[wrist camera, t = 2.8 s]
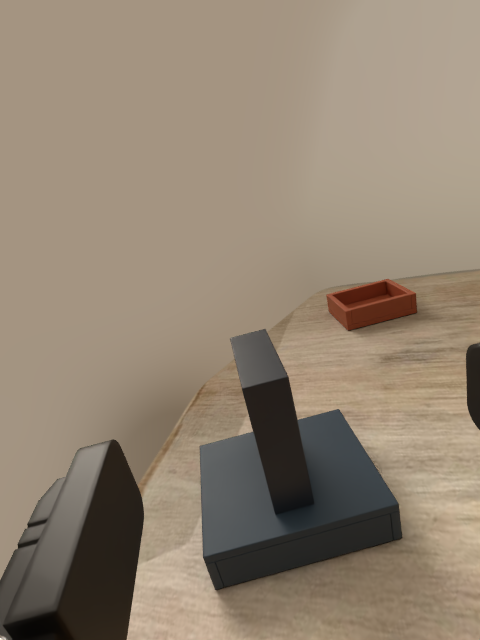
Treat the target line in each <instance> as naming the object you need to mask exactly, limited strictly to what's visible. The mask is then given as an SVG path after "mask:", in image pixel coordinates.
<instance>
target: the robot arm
mask: <svg viewBox="0 0 480 640" xmlns="http://www.w3.org/2000/svg"><path fill="white" fill-rule="evenodd" d="M466 372H467V406H468V410H469V413H470V416H471V418H472V420H473V422H474V423H475V425H476V426H477V427H478V429H479V430H480V343H477V344H473V345H471V346H469V348H468V350H467V353H466ZM143 522H144V509H143V502H142V497H141V494H140V491H139V488H138V486H137V484H136V482H135V479H134V477H133V475H132V472H131V470H130V468H129V465H128V463H127V460H126V458H125V456H124V453H123V451H122V449H121V447H120V445H119V443H118V442H117V441H116V440H110V441H106V442H102V443H99V444H95V445H91V446H87V447H84V448H80V449H79V450H78V451H77V452H76V454H75V456H74V459H73V461H72V463H71V466H70V468H69V471H68V473H67V475H66V477H63V478H60V479H57V480H56V481H55V483H54V484H53V485H52V486H51V487H50V488H49V489H48V491H47V492H46V493H45V494H44V495H43V496H42V497H41V499H40V500H39V501H38V503H37V505H36V507H35V509H34V511H33V513H32V516H31V518H30V520H29V522H28V524H27V525H28V528H27V529H25V530H24V532H23V534H22V536H21V538H20V540H19V543H18V549H16V550H15V551H14V553H13V555H12V557H11V559H10V561H9V563H8V565H7V567H6V570H5V572H4V574H3V576H2V578H1V580H0V640H127V633H128V626H129V619H130V612H131V605H132V599H133V592H134V585H135V578H136V571H137V564H138V557H139V550H140V543H141V536H142V530H143Z"/></svg>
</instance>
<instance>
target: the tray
mask: <svg viewBox="0 0 480 640" xmlns="http://www.w3.org/2000/svg"><path fill="white" fill-rule="evenodd" d="M327 302H328V307H329V312H330V313H331V314H332V315H333V316H334V317H335V318H336V319H337V320H338V321H339V322H340V323H341V324H342V325H343V326H344V327H345V328H346V329H347V330H352V329H356V328H360V327H364V326H367V325H371V324H375V323H379V322H383V321H387V320H390V319H394V318H398V317H402V316H406V315H410V314H413V313H417V305H416V293H414V292H412V291H410V290H409V289H407V288H405V287H403V286H401V285H399V284H397V283H395V282H393V281H391V280H389V279H386V280H382V281H378V282H374V283H370V284H366V285H362V286H358V287H354V288H351V289H347V290H343V291H339V292H335V293H331V294H327Z"/></svg>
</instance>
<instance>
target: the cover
mask: <svg viewBox="0 0 480 640" xmlns="http://www.w3.org/2000/svg"><path fill="white" fill-rule="evenodd" d="M230 340H231V344H232V349H233V353H234V357H235V361H236V366H237V370H238V374H239V378H240V382H241V387H242V391H243V394H244V398H245V402H246V406H247V410H248V413H249V417H250V421H251V425H252V429H253V432H251V433H247V434H243V435H240V436H236V437H232V438H228V439H225V440H221V441H217V442H213V443H210V444H206V445H202V446H200V470H201V504H202V537H203V558H204V561H205V563H206V566H207V569H208V572H209V574H210V577H211V580H212V582H213V585H214V588H215V590H217V589H220V588H223V587H227V586H231V585H235V584H238V583H242V582H245V581H249V580H253V579H256V578H260V577H263V576H267V575H271V574H274V573H278V572H281V571H285V570H289V569H292V568H296V567H299V566H303V565H307V564H310V563H314V562H317V561H321V560H325V559H328V558H332V557H335V556H339V555H343V554H346V553H350V552H353V551H357V550H361V549H364V548H368V547H371V546H375V545H379V544H382V543H386V542H389V541H393V540H397V539H400V538H402V532H401V522H400V513H399V504H398V502H397V500H396V499H395V497H394V496H393V494H392V492H391V491H390V489H389V488H388V486H387V485H386V483H385V481H384V480H383V478H382V477H381V475H380V473H379V472H378V470H377V469H376V467H375V466H374V464H373V462H372V461H371V459H370V458H369V456H368V455H367V453H366V451H365V450H364V448H363V447H362V445H361V443H360V442H359V440H358V439H357V437H356V436H355V434H354V432H353V431H352V429H351V428H350V426H349V424H348V423H347V421H346V420H345V418H344V417H343V415H342V413H341V412H340V410H339V409H337V410H333V411H329V412H326V413H322V414H318V415H314V416H311V417H307V418H303V419H299V420H297V416H296V411H295V406H294V401H293V397H292V392H291V387H290V382H289V377H288V375H287V373H286V371H285V369H284V367H283V365H282V363H281V361H280V358H279V356H278V354H277V352H276V350H275V348H274V346H273V344H272V342H271V340H270V338H269V336H268V334H267V331H266V330H265V329H263V330H259V331H255V332H251V333H248V334H244V335H240V336H236V337H232V338H230Z"/></svg>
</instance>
